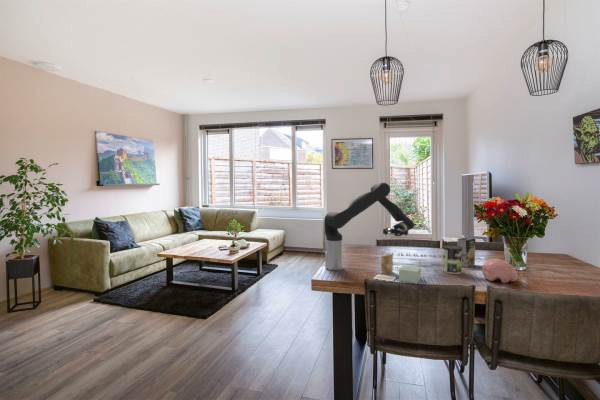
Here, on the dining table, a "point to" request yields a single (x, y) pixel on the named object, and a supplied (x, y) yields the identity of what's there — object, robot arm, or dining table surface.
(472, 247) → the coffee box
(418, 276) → the base brick
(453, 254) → the coffee can
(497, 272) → the pink piggy bank
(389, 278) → the page
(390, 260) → the tan cylinder
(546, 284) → the dining table surface
